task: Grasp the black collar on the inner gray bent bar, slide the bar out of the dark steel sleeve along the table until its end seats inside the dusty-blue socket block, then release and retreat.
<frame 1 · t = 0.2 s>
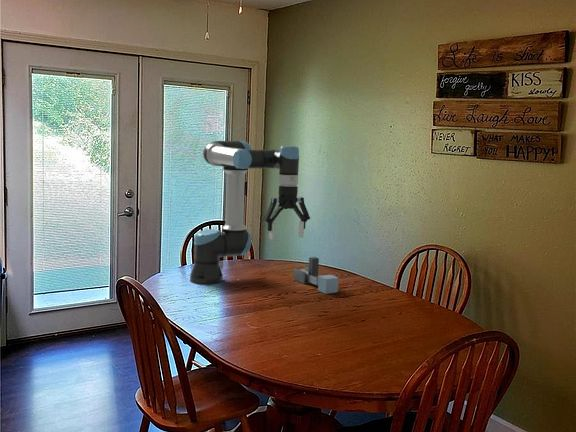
hand: (286, 238, 237), 28 cm above the table, fingers open, 13 cm apart
socket: (327, 291, 264), on the table
sleeve: (304, 280, 281), on the table
gray bent bar: (310, 268, 276), point 7 cm above the table, slide at 0.0 cm
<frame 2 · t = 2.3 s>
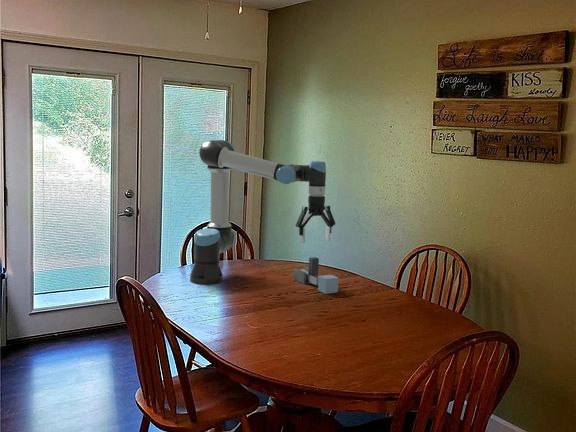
hand: (315, 241, 272), 20 cm above the table, fingers open, 13 cm apart
nothing on the table moved.
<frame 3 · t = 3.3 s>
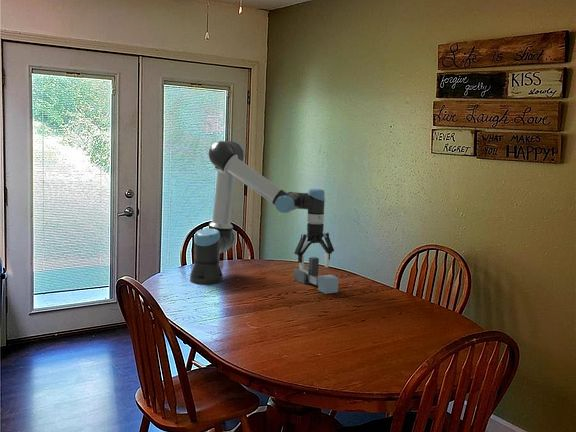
hand: (313, 268, 273), 8 cm above the table, fingers open, 13 cm apart
nothing on the table moved.
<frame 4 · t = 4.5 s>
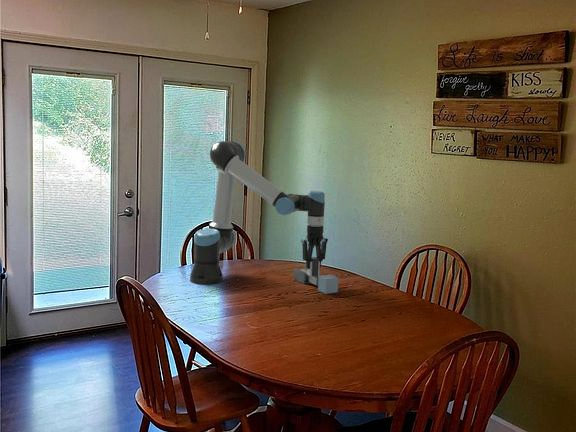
hand: (313, 274, 274), 5 cm above the table, fingers closed on gray bent bar, 3 cm apart
gray bent bar: (310, 268, 276), point 7 cm above the table, slide at 0.0 cm, touching gripper
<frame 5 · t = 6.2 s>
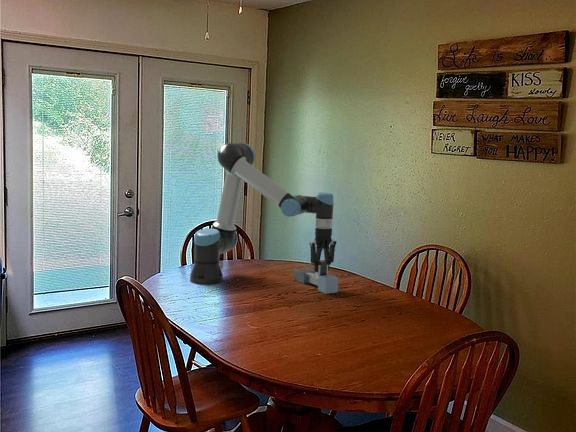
hand: (321, 278, 268), 5 cm above the table, fingers closed on gray bent bar, 3 cm apart
gray bent bar: (318, 272, 270), point 7 cm above the table, slide at 6.9 cm, touching gripper
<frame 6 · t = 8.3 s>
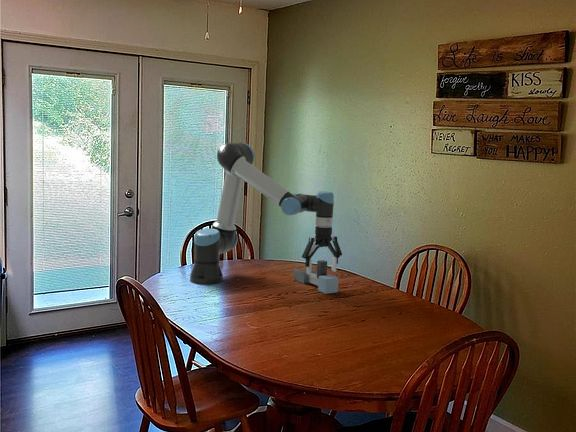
hand: (321, 272, 268), 7 cm above the table, fingers open, 13 cm apart
gray bent bar: (318, 272, 270), point 7 cm above the table, slide at 7.0 cm
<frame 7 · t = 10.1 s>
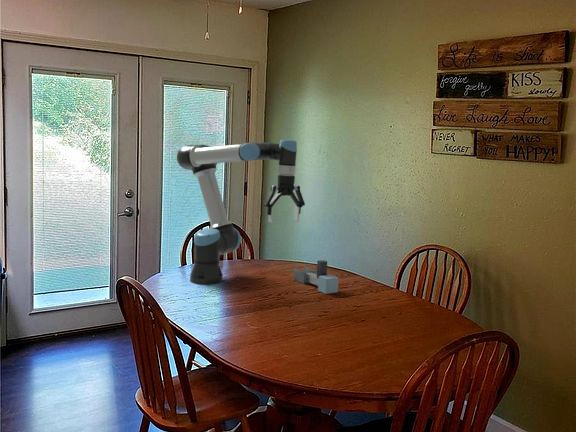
hand: (283, 221, 267), 30 cm above the table, fingers open, 13 cm apart
nothing on the table moved.
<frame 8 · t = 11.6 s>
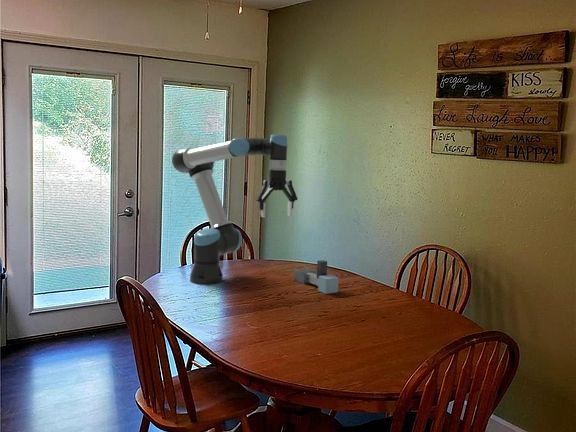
hand: (276, 216, 267), 32 cm above the table, fingers open, 13 cm apart
nothing on the table moved.
at the end: gray bent bar slide at 7.0 cm; the gripper is holding nothing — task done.
